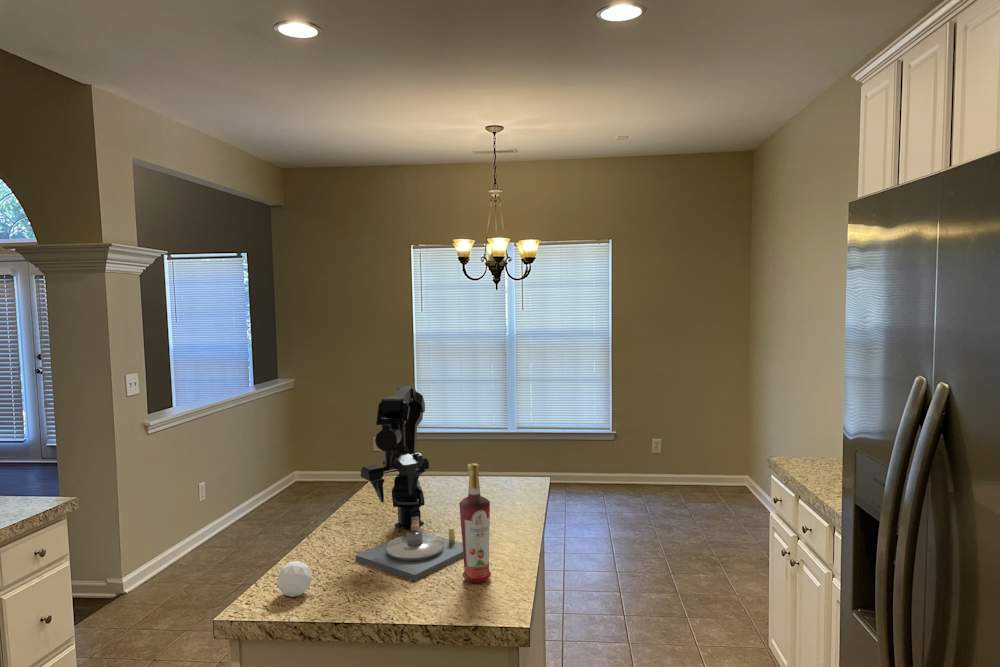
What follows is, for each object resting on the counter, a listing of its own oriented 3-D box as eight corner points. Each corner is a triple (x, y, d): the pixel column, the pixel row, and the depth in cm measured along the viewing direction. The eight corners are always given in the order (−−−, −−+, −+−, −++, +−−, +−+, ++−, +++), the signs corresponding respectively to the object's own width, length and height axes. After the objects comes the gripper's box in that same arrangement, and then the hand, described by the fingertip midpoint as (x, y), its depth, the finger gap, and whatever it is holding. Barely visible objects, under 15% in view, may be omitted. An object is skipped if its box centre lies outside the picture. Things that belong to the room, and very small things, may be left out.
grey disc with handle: (444, 558, 164) (444, 541, 164) (384, 563, 162) (384, 545, 162) (442, 530, 184) (441, 515, 184) (389, 534, 183) (388, 518, 182)
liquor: (468, 589, 150) (464, 470, 149) (457, 577, 157) (453, 463, 156) (496, 582, 153) (493, 466, 152) (485, 571, 160) (481, 459, 158)
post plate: (355, 560, 169) (354, 540, 169) (416, 535, 186) (415, 516, 186) (414, 581, 155) (414, 558, 155) (474, 551, 173) (473, 531, 172)
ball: (304, 605, 150) (319, 582, 148) (271, 602, 146) (285, 578, 143) (302, 578, 156) (316, 556, 154) (270, 575, 152) (284, 551, 149)
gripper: (378, 453, 166) (380, 513, 167) (439, 441, 178) (441, 497, 178) (358, 446, 175) (361, 503, 175) (417, 436, 186) (419, 489, 187)
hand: (396, 498), depth 179 cm, fingers open, 9 cm apart
